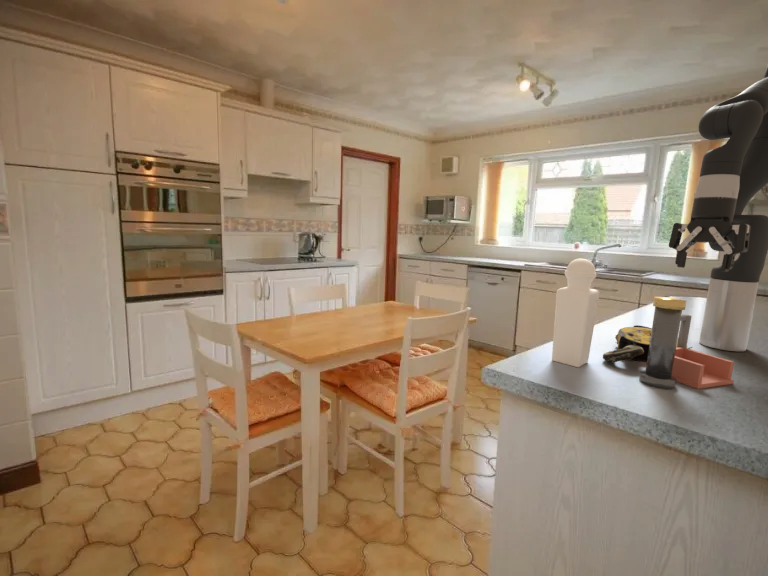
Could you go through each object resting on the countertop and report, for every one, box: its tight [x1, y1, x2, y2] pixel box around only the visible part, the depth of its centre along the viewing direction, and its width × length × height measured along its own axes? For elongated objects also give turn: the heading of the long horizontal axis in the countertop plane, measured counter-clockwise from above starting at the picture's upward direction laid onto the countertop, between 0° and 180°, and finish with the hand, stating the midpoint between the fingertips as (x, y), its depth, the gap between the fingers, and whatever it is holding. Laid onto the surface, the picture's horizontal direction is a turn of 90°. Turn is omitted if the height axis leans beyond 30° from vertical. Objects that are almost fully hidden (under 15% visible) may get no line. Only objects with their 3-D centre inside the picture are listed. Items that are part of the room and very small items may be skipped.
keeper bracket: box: [672, 314, 735, 390], centre depth 79 cm, size 11×11×11 cm
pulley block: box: [602, 325, 693, 363], centre depth 91 cm, size 14×6×30 cm
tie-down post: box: [638, 296, 687, 390], centre depth 73 cm, size 6×6×16 cm
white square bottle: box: [551, 257, 600, 368], centre depth 83 cm, size 6×6×22 cm
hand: (701, 269), depth 92 cm, fingers open, 8 cm apart
